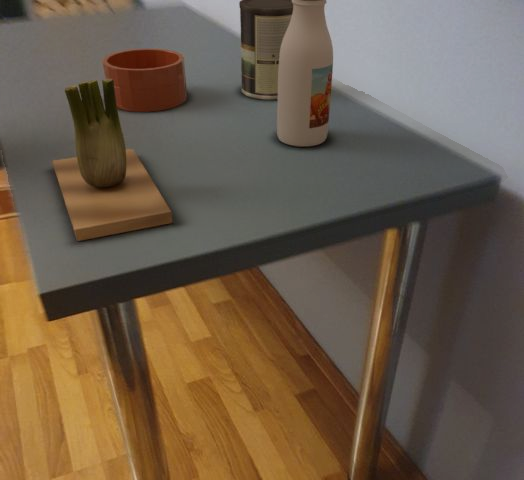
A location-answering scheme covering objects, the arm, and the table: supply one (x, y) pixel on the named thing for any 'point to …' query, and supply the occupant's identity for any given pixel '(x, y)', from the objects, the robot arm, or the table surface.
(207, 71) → the table surface
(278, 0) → the coffee can
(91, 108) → the fennel bulb
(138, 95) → the pot
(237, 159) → the table surface
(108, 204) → the board
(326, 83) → the milk bottle
